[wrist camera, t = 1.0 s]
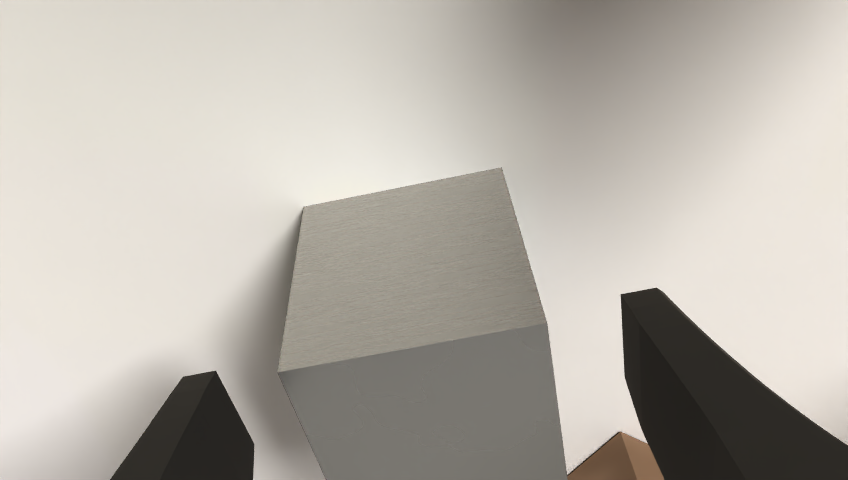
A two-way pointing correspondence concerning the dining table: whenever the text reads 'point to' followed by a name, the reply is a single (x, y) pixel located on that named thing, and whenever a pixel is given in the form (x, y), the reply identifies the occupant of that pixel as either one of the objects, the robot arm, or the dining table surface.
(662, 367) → the robot arm
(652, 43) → the dining table surface
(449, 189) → the peg
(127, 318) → the dining table surface
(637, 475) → the holder
